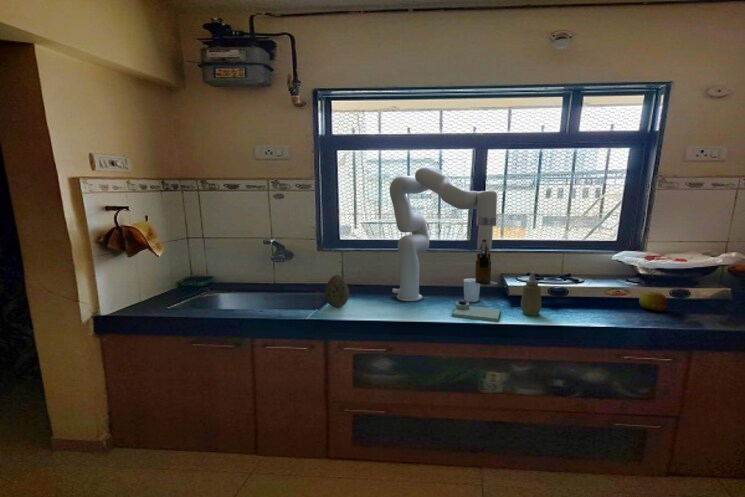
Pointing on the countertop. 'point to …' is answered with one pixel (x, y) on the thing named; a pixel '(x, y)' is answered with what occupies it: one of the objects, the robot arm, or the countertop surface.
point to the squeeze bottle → (531, 297)
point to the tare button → (462, 302)
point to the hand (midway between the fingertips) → (484, 265)
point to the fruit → (653, 301)
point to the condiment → (483, 272)
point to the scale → (476, 312)
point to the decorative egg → (337, 292)
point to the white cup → (471, 290)
